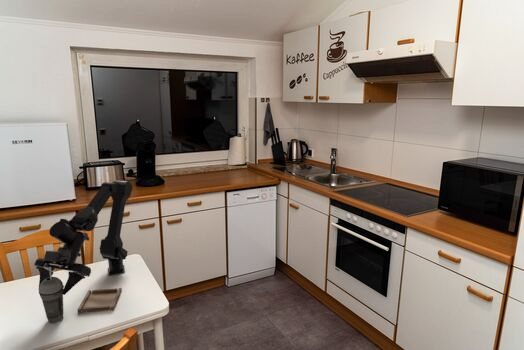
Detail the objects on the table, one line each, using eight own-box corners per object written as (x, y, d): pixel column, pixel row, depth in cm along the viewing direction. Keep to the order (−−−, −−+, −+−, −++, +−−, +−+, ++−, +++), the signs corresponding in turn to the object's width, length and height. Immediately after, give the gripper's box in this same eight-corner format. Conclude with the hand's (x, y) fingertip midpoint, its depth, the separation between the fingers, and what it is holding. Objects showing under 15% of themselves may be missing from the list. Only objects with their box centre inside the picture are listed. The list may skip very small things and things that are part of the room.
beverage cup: (60, 310, 126) (52, 258, 121) (72, 317, 123) (65, 264, 118) (39, 321, 120) (30, 267, 115) (51, 329, 117) (42, 274, 112)
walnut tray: (88, 293, 136) (88, 290, 136) (121, 291, 138) (121, 288, 138) (77, 313, 125) (77, 309, 124) (114, 310, 126) (113, 306, 126)
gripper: (34, 236, 122) (10, 282, 114) (81, 242, 118) (60, 290, 110) (55, 247, 131) (34, 291, 123) (99, 253, 127) (81, 298, 119)
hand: (51, 292), depth 119 cm, fingers open, 9 cm apart
